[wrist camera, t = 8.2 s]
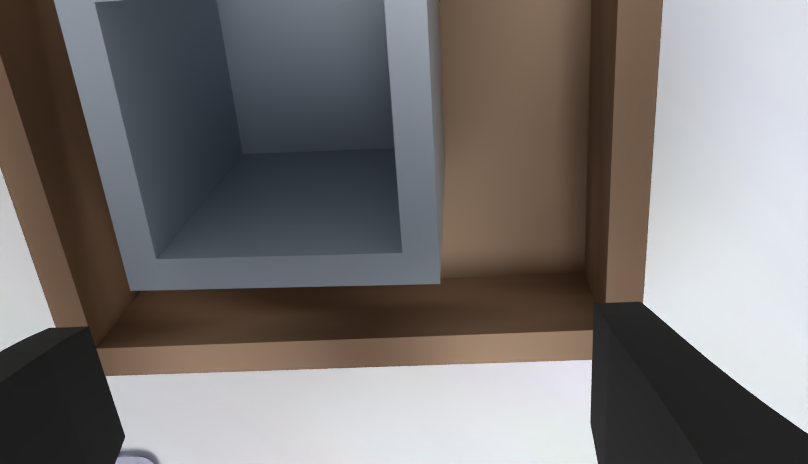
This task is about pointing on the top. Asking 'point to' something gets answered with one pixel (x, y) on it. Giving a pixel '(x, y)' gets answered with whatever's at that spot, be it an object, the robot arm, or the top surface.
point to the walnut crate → (462, 215)
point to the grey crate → (265, 138)
